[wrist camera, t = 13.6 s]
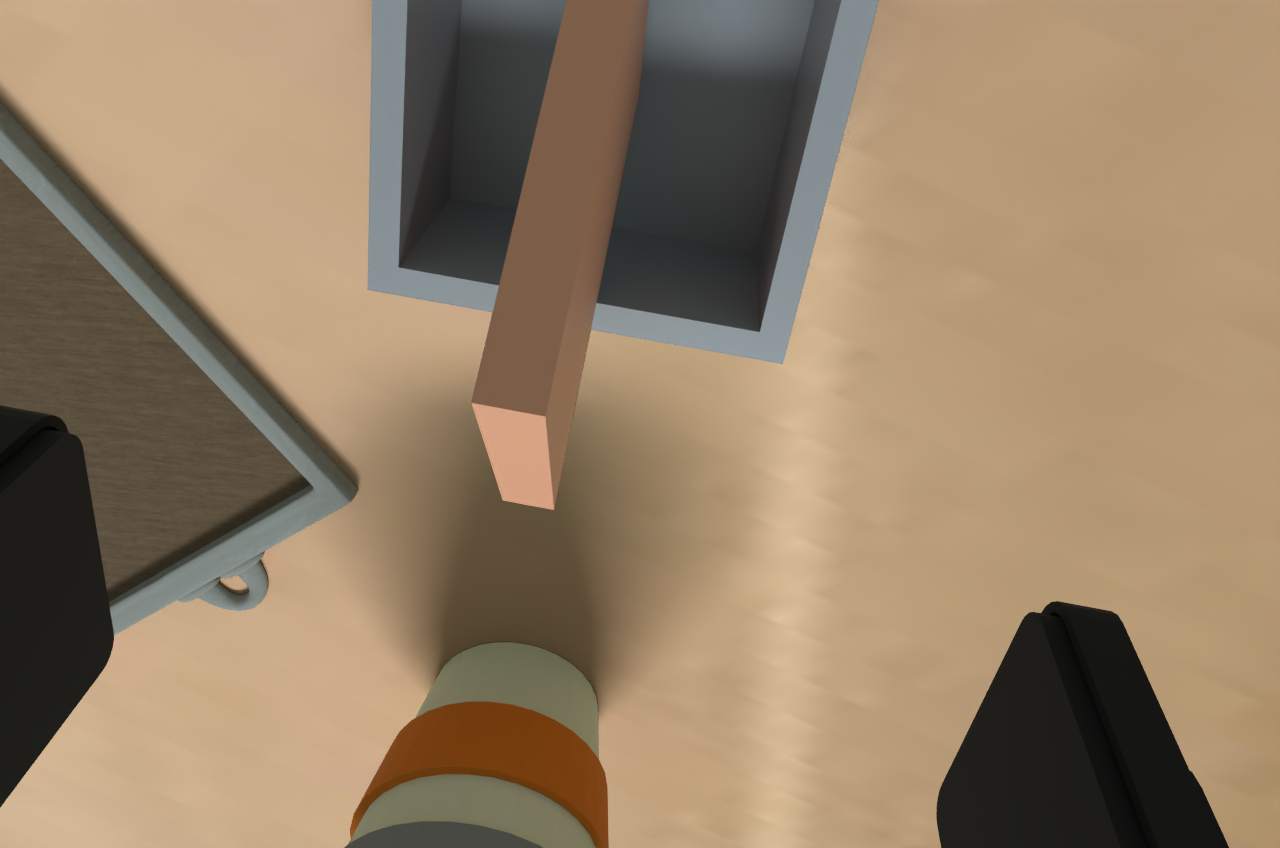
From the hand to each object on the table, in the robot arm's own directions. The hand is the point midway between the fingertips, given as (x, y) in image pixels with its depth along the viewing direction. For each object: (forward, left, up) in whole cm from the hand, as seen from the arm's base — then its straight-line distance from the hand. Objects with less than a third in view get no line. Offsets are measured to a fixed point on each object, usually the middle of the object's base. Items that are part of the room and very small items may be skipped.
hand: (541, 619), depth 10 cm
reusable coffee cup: (+3, +35, -31) cm, 47 cm away
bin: (+2, +1, -31) cm, 31 cm away
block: (+2, -2, -25) cm, 25 cm away
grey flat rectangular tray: (+27, +20, -31) cm, 46 cm away
